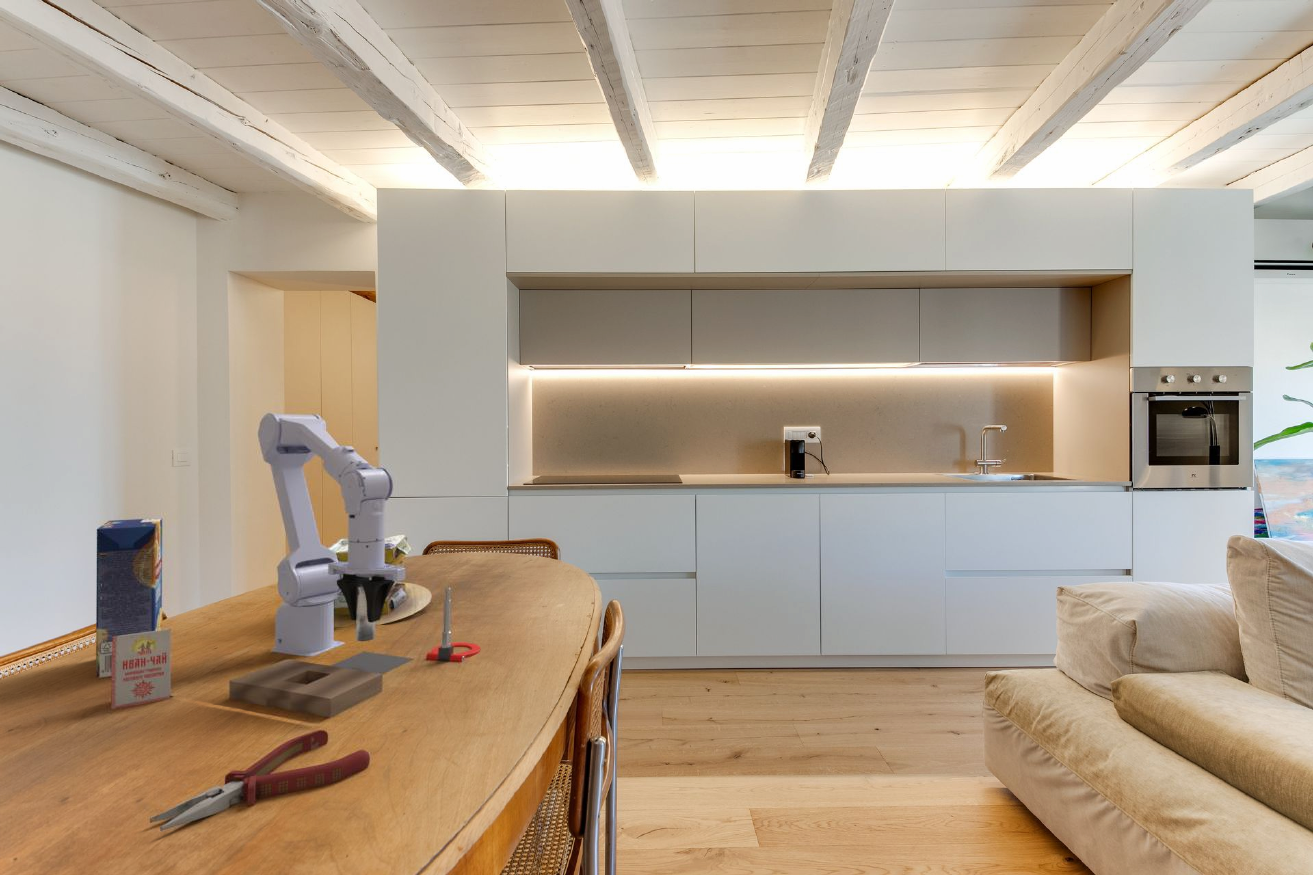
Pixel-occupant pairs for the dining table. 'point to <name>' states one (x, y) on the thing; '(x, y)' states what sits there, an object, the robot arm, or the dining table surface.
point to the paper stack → (400, 597)
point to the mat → (372, 662)
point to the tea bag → (140, 668)
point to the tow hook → (446, 649)
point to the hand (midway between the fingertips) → (365, 619)
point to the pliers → (267, 780)
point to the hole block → (306, 687)
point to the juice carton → (127, 583)
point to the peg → (363, 617)
